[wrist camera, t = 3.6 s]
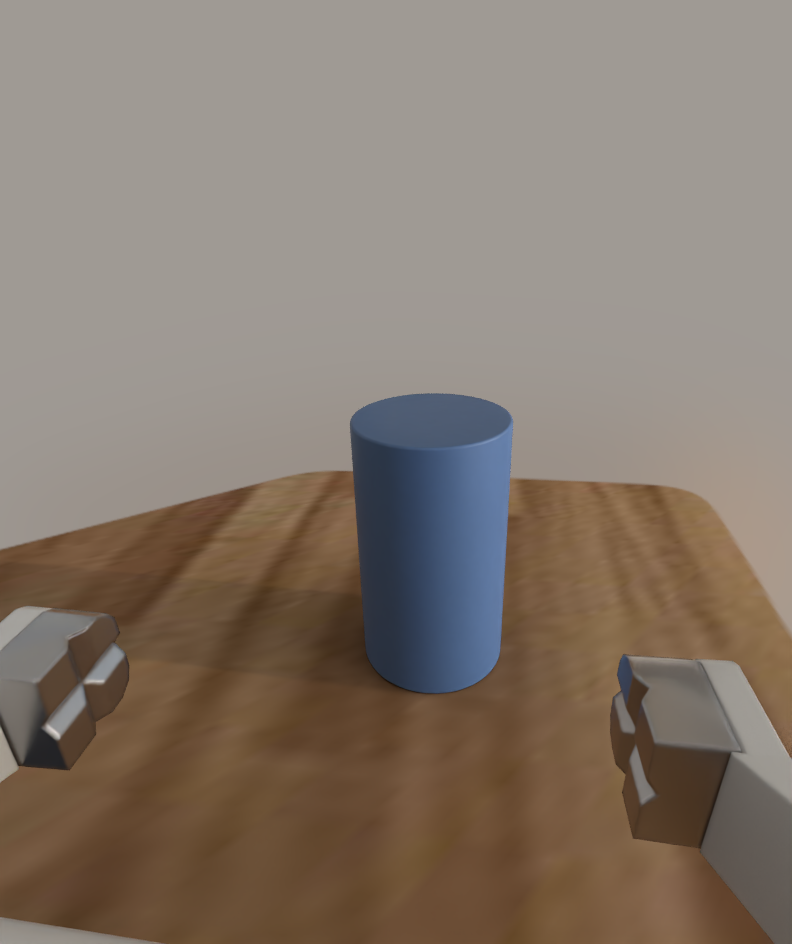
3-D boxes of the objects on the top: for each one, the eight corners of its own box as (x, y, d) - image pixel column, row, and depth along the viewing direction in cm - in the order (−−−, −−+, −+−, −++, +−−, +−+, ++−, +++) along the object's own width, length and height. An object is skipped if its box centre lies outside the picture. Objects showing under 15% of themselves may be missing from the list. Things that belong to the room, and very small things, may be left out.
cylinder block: (498, 605, 26) (510, 393, 22) (501, 700, 21) (517, 450, 17) (377, 597, 27) (366, 391, 23) (353, 687, 22) (332, 446, 18)
